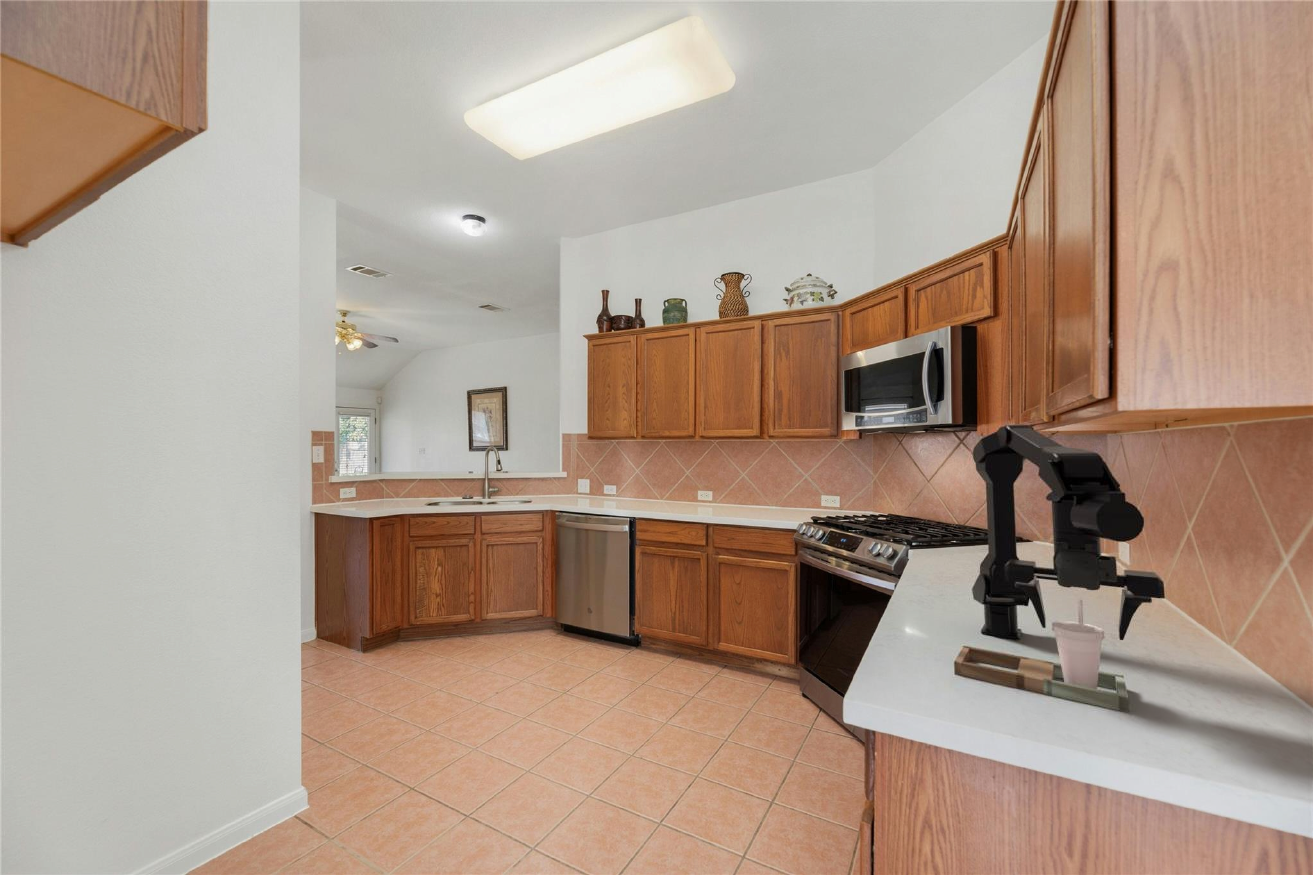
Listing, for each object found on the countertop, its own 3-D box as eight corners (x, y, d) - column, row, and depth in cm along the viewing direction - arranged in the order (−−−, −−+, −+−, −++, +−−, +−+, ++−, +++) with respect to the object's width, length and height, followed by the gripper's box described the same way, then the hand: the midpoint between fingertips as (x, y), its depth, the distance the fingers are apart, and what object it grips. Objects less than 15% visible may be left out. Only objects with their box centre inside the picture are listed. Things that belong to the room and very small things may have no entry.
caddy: (964, 656, 93) (963, 645, 93) (1124, 688, 80) (1123, 675, 80) (954, 673, 86) (954, 661, 86) (1129, 712, 72) (1128, 697, 72)
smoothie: (1118, 701, 75) (1113, 605, 76) (1069, 698, 77) (1064, 603, 77) (1091, 683, 82) (1086, 594, 82) (1045, 680, 83) (1041, 592, 84)
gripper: (998, 533, 80) (1003, 634, 79) (1166, 544, 68) (1173, 663, 67) (1006, 525, 88) (1010, 617, 88) (1156, 534, 77) (1162, 640, 76)
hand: (1081, 633), depth 79 cm, fingers open, 9 cm apart
